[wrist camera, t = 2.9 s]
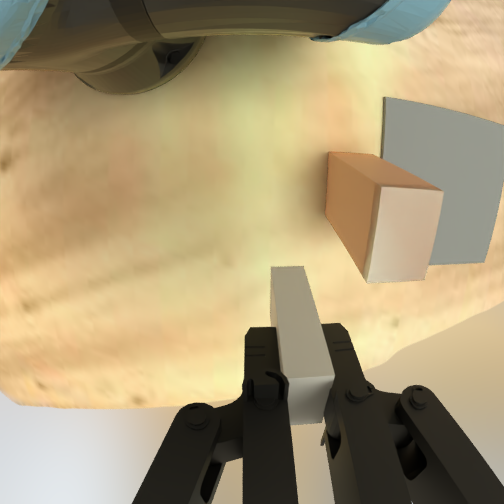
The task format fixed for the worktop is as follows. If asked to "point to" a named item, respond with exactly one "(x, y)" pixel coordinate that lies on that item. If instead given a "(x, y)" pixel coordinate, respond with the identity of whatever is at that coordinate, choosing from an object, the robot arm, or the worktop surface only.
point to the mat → (450, 171)
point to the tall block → (382, 216)
